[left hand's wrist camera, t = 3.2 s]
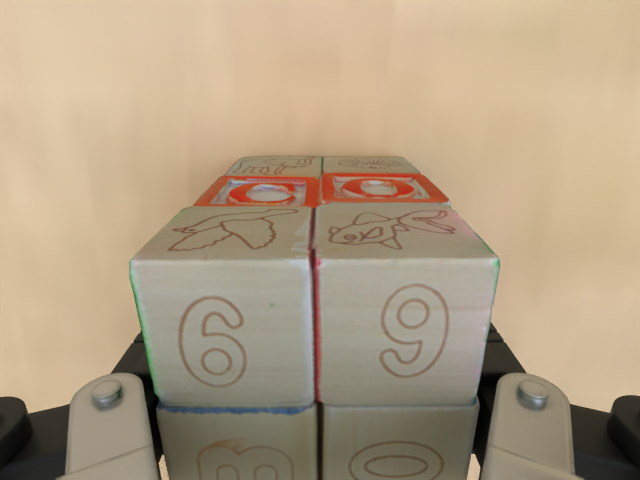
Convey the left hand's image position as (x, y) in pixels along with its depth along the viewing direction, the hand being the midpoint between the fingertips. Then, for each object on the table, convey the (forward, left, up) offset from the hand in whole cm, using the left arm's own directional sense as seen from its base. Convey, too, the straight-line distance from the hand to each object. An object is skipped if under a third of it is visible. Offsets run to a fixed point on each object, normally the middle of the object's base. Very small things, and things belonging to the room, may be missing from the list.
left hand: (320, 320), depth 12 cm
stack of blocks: (-3, +6, -5) cm, 8 cm away
